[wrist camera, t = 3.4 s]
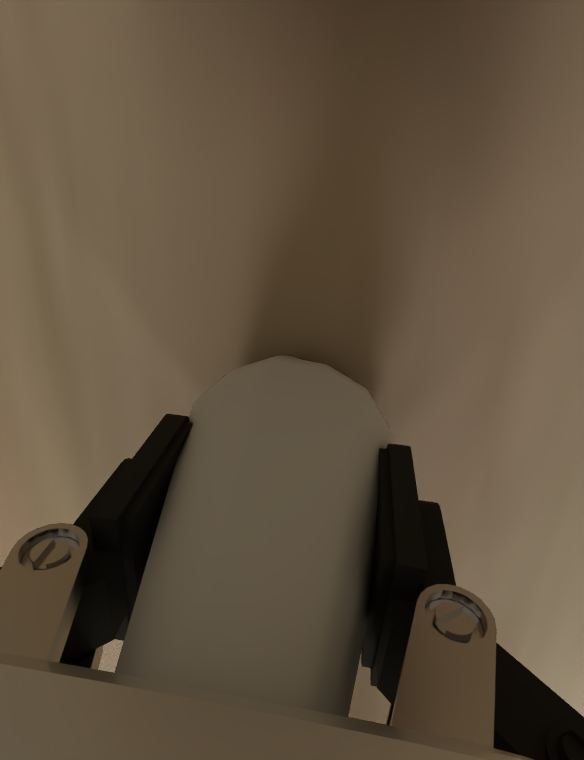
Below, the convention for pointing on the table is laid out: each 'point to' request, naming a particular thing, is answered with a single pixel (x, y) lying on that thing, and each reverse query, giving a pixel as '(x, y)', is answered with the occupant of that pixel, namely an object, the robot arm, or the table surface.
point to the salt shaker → (265, 541)
